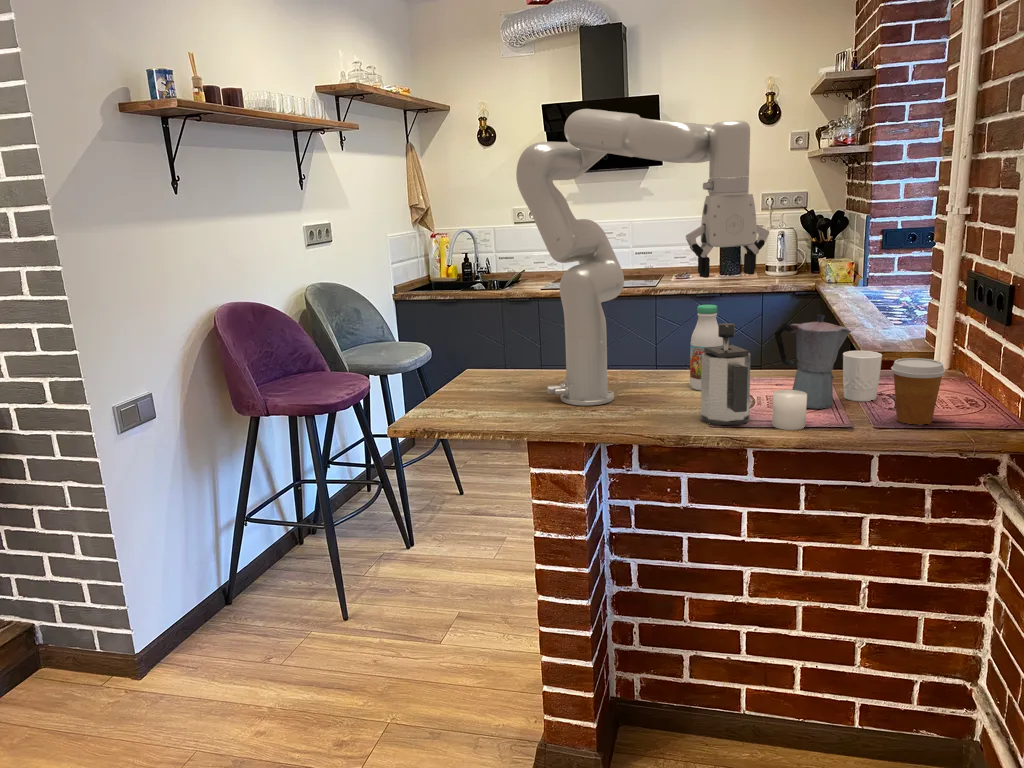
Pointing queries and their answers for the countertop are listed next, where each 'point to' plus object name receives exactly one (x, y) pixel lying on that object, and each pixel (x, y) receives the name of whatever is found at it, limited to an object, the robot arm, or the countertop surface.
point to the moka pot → (814, 358)
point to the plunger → (726, 332)
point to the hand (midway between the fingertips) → (726, 275)
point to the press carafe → (725, 385)
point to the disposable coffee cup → (916, 389)
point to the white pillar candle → (789, 409)
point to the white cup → (861, 375)
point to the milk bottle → (703, 341)
